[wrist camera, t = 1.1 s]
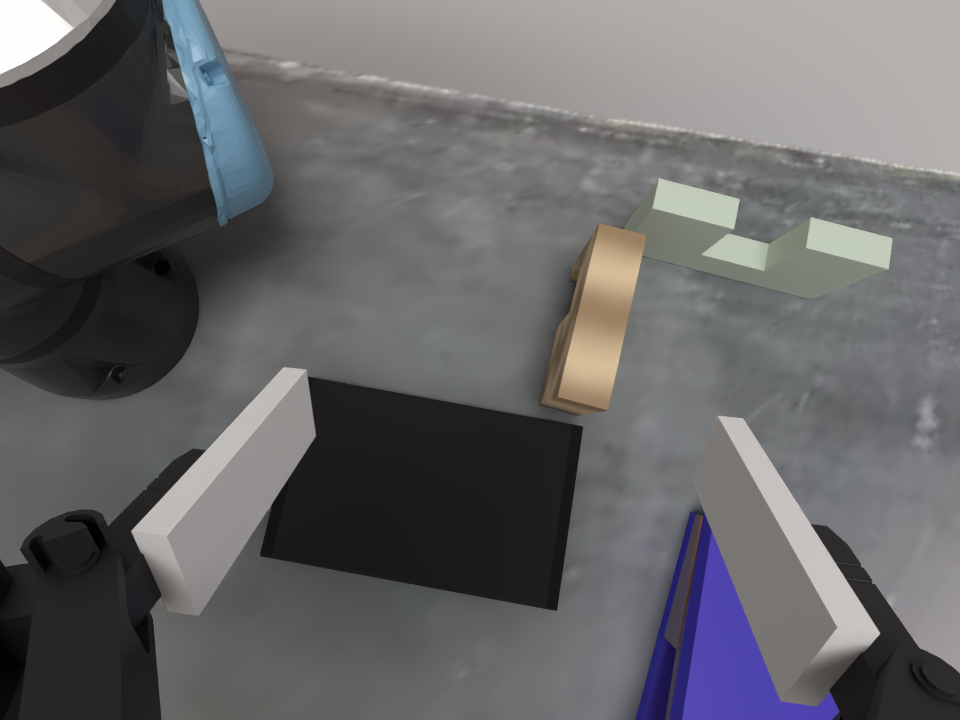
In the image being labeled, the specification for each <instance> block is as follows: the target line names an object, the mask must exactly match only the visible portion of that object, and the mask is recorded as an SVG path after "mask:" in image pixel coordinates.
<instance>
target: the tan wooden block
mask: <svg viewBox="0 0 960 720" xmlns="http://www.w3.org/2000/svg"><path fill="white" fill-rule="evenodd" d="M646 236H647V235H644V234H640V233H636V232H632V231H628V230H624V229H621V228H617V227H613V226H609V225H605V224H601V223H599V225H598V226H597V228H596V230H595V231H594V233H593V234H592V236H591V238H590V239H589V241H588V243H587V244H586V246H585V248H584V249H583V251H582V252H581V254H580V256H579V257H578V259H577V261H576V262H575V264H574V266H573V267H572V271H571V275H570V279H569V280H572V281H576V282H577V284H576V288H575V292H574V296H573V300H572V305H571V309H570V312H569V313H568V315H567V316H566V317H565V318H564V320H563V321H562V322H561V323H560V324H559V326H558V328H557V332H556V336H555V340H554V344H553V348H552V353H551V357H550V361H549V365H548V369H547V373H546V377H545V381H544V385H543V389H542V393H541V397H540V401H539V405H541V406H544V407H548V408H552V409H555V410H559V411H563V412H567V413H570V414H574V415H583V414H589V413H595V412H601V411H607V410H608V407H609V403H610V398H611V394H612V389H613V385H614V380H615V376H616V371H617V367H618V362H619V358H620V353H621V349H622V344H623V340H624V335H625V331H626V326H627V322H628V317H629V313H630V308H631V304H632V299H633V295H634V290H635V286H636V281H637V277H638V272H639V268H640V263H641V259H642V254H643V250H644V245H645V241H646Z"/></svg>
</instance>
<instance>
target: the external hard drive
mask: <svg viewBox="0 0 960 720" xmlns="http://www.w3.org/2000/svg"><path fill="white" fill-rule="evenodd" d="M308 384H309V391H310V397H311V404H312V411H313V418H314V425H315V432H316V437H315V438H314V440H313V441H312V443H311V444H310V446H309V447H308V449H307V451H306V452H305V454H304V455H303V457H302V458H301V460H300V461H299V463H298V464H297V466H296V467H295V469H294V471H293V472H292V474H291V475H290V477H289V478H288V480H287V481H286V483H285V484H284V486H283V488H282V489H281V491H280V492H279V494H278V495H277V497H276V498H275V500H274V501H273V504H272V508H271V512H270V516H269V520H268V524H267V529H266V533H265V537H264V541H263V545H262V549H261V553H260V556H262V557H268V558H273V559H279V560H284V561H289V562H295V563H300V564H306V565H311V566H316V567H322V568H327V569H333V570H338V571H344V572H349V573H354V574H360V575H365V576H371V577H376V578H381V579H387V580H392V581H398V582H403V583H408V584H414V585H419V586H425V587H430V588H435V589H441V590H446V591H452V592H457V593H462V594H468V595H473V596H479V597H484V598H490V599H495V600H500V601H506V602H511V603H517V604H522V605H527V606H533V607H538V608H544V609H549V610H554V611H557V607H558V600H559V593H560V585H561V578H562V571H563V564H564V557H565V550H566V543H567V536H568V529H569V522H570V515H571V508H572V501H573V494H574V487H575V480H576V473H577V466H578V459H579V452H580V445H581V438H582V431H583V427H582V426H577V425H572V424H566V423H560V422H555V421H549V420H544V419H538V418H533V417H527V416H522V415H516V414H511V413H505V412H500V411H494V410H489V409H483V408H478V407H472V406H467V405H461V404H456V403H450V402H445V401H439V400H434V399H428V398H423V397H417V396H412V395H406V394H401V393H395V392H390V391H384V390H379V389H373V388H368V387H362V386H357V385H351V384H346V383H340V382H334V381H329V380H323V379H318V378H312V377H308Z"/></svg>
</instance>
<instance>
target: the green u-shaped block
mask: <svg viewBox="0 0 960 720" xmlns="http://www.w3.org/2000/svg"><path fill="white" fill-rule="evenodd" d="M739 200H740V199H737V198H733V197H729V196H725V195H722V194H718V193H714V192H710V191H706V190H702V189H698V188H694V187H690V186H686V185H683V184H679V183H675V182H671V181H667V180H663V179H658V181H657V182H656V183H655V185H654V186H653V187H652V189H651V190H650V191H649V193H648V194H647V195H646V197H645V198H644V200H643V201H642V202H641V204H640V205H639V206H638V208H637V209H636V210H635V212H634V213H633V214H632V216H631V217H630V219H629V220H628V221H627V223H626V224H625V226H624V230H628V231H632V232H636V233H640V234H644V235H647V236H646V241H645V245H644V250H643V254H642V256H645V257H648V258H652V259H656V260H660V261H664V262H668V263H672V264H675V265H679V266H683V267H687V268H691V269H695V270H698V271H702V272H706V273H710V274H714V275H718V276H721V277H725V278H729V279H733V280H737V281H741V282H745V283H748V284H752V285H756V286H760V287H764V288H768V289H771V290H775V291H779V292H783V293H787V294H791V295H794V296H798V297H802V298H806V299H810V300H811V299H814V298H817V297H819V296H822V295H824V294H827V293H829V292H832V291H834V290H837V289H839V288H842V287H844V286H847V285H850V284H852V283H855V282H857V281H860V280H862V279H865V278H867V277H870V276H872V275H875V274H878V273H880V272H883V271H885V270H888V269H889V263H890V255H891V247H892V240H893V238H889V237H885V236H881V235H878V234H874V233H870V232H866V231H862V230H858V229H854V228H850V227H846V226H842V225H839V224H835V223H831V222H827V221H823V220H819V219H815V218H809V219H808V220H806V221H805V222H803V223H801V224H800V225H798V226H797V227H795V228H794V229H792V230H790V231H789V232H787V233H786V234H784V235H783V236H781V237H779V238H778V239H776V240H775V241H773V242H772V243H770V244H767V243H763V242H759V241H755V240H751V239H747V238H743V237H739V236H736V235H732V234H728V233H730V232H731V231H732V230H734V226H735V221H736V215H737V210H738V205H739Z"/></svg>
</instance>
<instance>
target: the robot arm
mask: <svg viewBox="0 0 960 720" xmlns="http://www.w3.org/2000/svg"><path fill="white" fill-rule="evenodd" d="M273 186H274V174H273V170H272V167H271V164H270V161H269V158H268V156H267V153H266V151H265V148H264V146H263V143H262V141H261V138H260V136H259V133H258V131H257V129H256V126H255V124H254V122H253V119H252V117H251V114H250V112H249V110H248V107H247V105H246V103H245V101H244V98H243V96H242V94H241V91H240V89H239V87H238V85H237V82H236V80H235V78H234V76H233V73H232V71H231V69H230V67H229V64H228V62H227V60H226V58H225V55H224V53H223V51H222V49H221V47H220V44H219V42H218V40H217V38H216V36H215V34H214V31H213V29H212V27H211V25H210V23H209V20H208V19H207V16H206V14H205V12H204V10H203V8H202V6H201V4H200V2H199V0H0V368H2V369H4V370H6V371H8V372H10V373H11V374H13V375H15V376H17V377H19V378H21V379H23V380H25V381H27V382H29V383H31V384H33V385H35V386H37V387H38V388H40V389H43V390H45V391H48V392H51V393H54V394H57V395H61V396H66V397H73V398H84V399H96V400H103V399H113V398H119V397H124V396H127V395H130V394H133V393H136V392H138V391H140V390H143V389H144V388H146V387H148V386H150V385H152V384H153V383H155V382H156V381H158V380H159V379H160V378H162V377H163V376H164V375H165V374H166V373H167V372H168V371H170V370H171V369H172V367H173V366H174V365H175V364H176V363H177V362H178V360H179V359H180V358H181V356H182V355H183V354H184V352H185V350H186V349H187V347H188V345H189V343H190V341H191V338H192V336H193V333H194V330H195V326H196V322H197V316H198V297H197V290H196V286H195V283H194V280H193V277H192V275H191V273H190V271H189V269H188V268H187V266H186V264H185V263H184V262H183V260H182V259H181V258H180V257H179V256H178V255H177V254H176V253H175V252H174V251H173V250H172V249H170V248H169V247H168V246H170V245H172V244H175V243H177V242H180V241H182V240H185V239H187V238H190V237H192V236H195V235H197V234H199V233H202V232H204V231H207V230H209V229H212V228H214V227H217V226H220V227H221V226H224V225H225V224H227V223H228V220H229V219H231V218H233V217H235V216H237V215H239V214H241V213H243V212H245V211H247V210H249V209H251V208H253V207H255V206H257V205H259V204H261V203H263V202H264V200H266V199H267V198H268V196H269V195H270V193H271V191H272V188H273ZM315 437H316V432H315V425H314V418H313V411H312V404H311V397H310V391H309V384H308V377H307V370H304V369H295V368H286V367H284V368H283V369H282V370H281V371H280V372H279V373H278V374H277V375H276V376H275V377H274V378H273V379H272V380H271V382H270V383H269V384H268V385H267V386H266V387H265V388H264V389H263V390H262V391H261V392H260V393H259V394H258V395H257V397H256V398H255V399H254V400H253V401H252V402H251V403H250V404H249V405H248V406H247V407H246V408H245V409H244V411H243V412H242V413H241V414H240V415H239V416H238V417H237V418H236V419H235V420H234V421H233V422H232V423H231V424H230V426H229V427H228V428H227V429H226V430H225V431H224V432H223V433H222V434H221V435H220V436H219V437H218V438H217V440H216V441H215V442H214V443H213V444H212V445H211V446H210V447H209V448H208V449H207V450H199V449H192V450H190V451H189V452H187V453H185V454H184V455H182V456H180V457H179V458H177V459H175V460H174V461H173V462H172V463H171V464H170V465H169V466H168V467H167V468H166V469H165V470H164V471H163V472H162V473H161V474H160V475H159V478H156V479H155V480H154V481H153V482H152V483H151V484H150V485H149V486H148V487H147V490H144V491H143V492H142V493H141V494H140V495H139V496H138V497H137V498H136V499H135V500H134V501H133V502H132V503H131V504H130V505H129V506H128V507H127V508H126V509H125V510H124V511H123V512H122V513H121V514H120V515H119V516H118V517H117V518H116V519H115V520H114V521H113V522H112V523H111V524H110V525H109V526H107V523H106V521H105V519H104V517H103V515H102V514H101V513H99V512H97V511H95V510H77V511H72V512H67V513H64V514H62V515H59V516H57V517H55V518H52V519H50V520H48V521H47V522H45V523H44V524H42V525H40V526H39V527H37V528H36V529H35V530H34V531H33V532H32V533H31V534H30V535H29V536H28V537H27V538H26V539H25V540H24V542H23V544H22V546H21V549H20V551H21V552H22V554H23V555H24V557H25V558H26V560H27V561H28V564H21V565H14V566H7V567H5V566H4V565H3V563H2V562H1V560H0V720H161V710H160V698H159V686H158V674H157V662H156V650H155V638H154V626H153V618H152V616H151V614H150V610H151V609H152V607H153V606H154V605H155V603H156V602H157V601H158V599H159V598H160V597H161V598H162V600H163V602H164V604H165V607H166V609H167V611H168V612H175V613H181V614H188V615H195V616H199V615H200V614H201V612H202V611H203V609H204V608H205V606H206V605H207V603H208V602H209V600H210V598H211V597H212V595H213V594H214V592H215V591H216V589H217V588H218V586H219V585H220V583H221V582H222V580H223V578H224V577H225V575H226V574H227V572H228V571H229V569H230V568H231V566H232V565H233V563H234V561H235V560H236V558H237V557H238V555H239V554H240V552H241V551H242V549H243V548H244V546H245V545H246V543H247V541H248V540H249V538H250V537H251V535H252V534H253V532H254V531H255V529H256V528H257V526H258V525H259V523H260V521H261V520H262V518H263V517H264V515H265V514H266V512H267V511H268V509H269V508H270V506H271V504H272V503H273V501H274V500H275V498H276V497H277V495H278V494H279V492H280V491H281V489H282V488H283V486H284V484H285V483H286V481H287V480H288V478H289V477H290V475H291V474H292V472H293V471H294V469H295V467H296V466H297V464H298V463H299V461H300V460H301V458H302V457H303V455H304V454H305V452H306V451H307V449H308V447H309V446H310V444H311V443H312V441H313V440H314V438H315ZM692 483H693V485H694V488H695V490H696V493H697V495H698V498H699V500H700V503H701V505H702V508H703V510H704V513H705V515H706V518H707V520H708V523H709V525H710V528H711V530H712V533H713V535H714V538H715V540H716V542H717V545H718V547H719V550H720V552H721V555H722V557H723V560H724V562H725V565H726V567H727V570H728V572H729V575H730V577H731V580H732V582H733V585H734V587H735V590H736V592H737V595H738V597H739V600H740V602H741V605H742V607H743V610H744V612H745V615H746V617H747V619H748V622H749V624H750V627H751V629H752V632H753V634H754V637H755V639H756V642H757V644H758V647H759V649H760V652H761V654H762V657H763V659H764V662H765V664H766V667H767V669H768V672H769V674H770V677H771V679H772V682H773V684H774V687H775V689H776V691H777V694H778V696H779V699H780V701H782V702H788V703H795V704H802V705H809V706H816V707H817V706H818V705H819V704H820V703H821V702H822V701H823V699H824V698H825V697H826V696H827V695H828V694H829V692H830V693H831V695H832V697H833V699H834V701H835V703H836V705H837V707H838V709H839V713H838V714H837V715H836V716H835V717H834V718H833V719H832V720H960V673H959V672H958V671H957V670H956V669H954V668H953V667H952V666H950V665H949V664H947V663H946V662H945V661H943V660H942V659H941V658H939V657H937V656H935V655H933V654H931V653H929V652H927V651H925V650H923V649H920V648H919V647H918V646H917V644H916V643H915V641H914V640H913V638H912V637H911V636H910V634H909V633H908V631H907V630H906V628H905V627H904V625H903V624H902V623H901V621H900V620H899V618H898V617H897V615H896V614H895V612H894V611H893V610H892V608H891V607H890V605H889V604H888V602H887V601H886V599H885V598H884V597H883V595H882V594H881V592H880V591H879V589H878V588H877V586H876V585H875V584H872V579H871V578H870V576H869V575H868V573H867V572H866V571H865V569H864V568H861V563H860V562H859V560H858V559H857V558H856V556H855V555H854V553H853V552H852V550H851V549H850V548H849V546H848V545H847V544H846V543H845V542H844V541H843V540H842V539H841V538H840V537H839V536H837V535H836V534H835V533H834V532H833V531H832V530H831V529H830V528H828V527H827V526H821V525H813V524H810V523H809V521H808V519H807V518H806V516H805V515H804V513H803V512H802V510H801V508H800V507H799V505H798V504H797V502H796V501H795V499H794V498H793V496H792V494H791V493H790V491H789V490H788V488H787V487H786V485H785V483H784V482H783V480H782V479H781V477H780V476H779V474H778V472H777V471H776V469H775V468H774V466H773V465H772V463H771V462H770V460H769V458H768V457H767V455H766V454H765V452H764V451H763V449H762V447H761V446H760V444H759V443H758V441H757V440H756V438H755V437H754V435H753V433H752V432H751V430H750V429H749V427H748V426H747V424H746V422H745V421H744V419H743V418H734V417H725V416H717V419H716V421H715V424H714V426H713V429H712V431H711V434H710V436H709V439H708V441H707V444H706V446H705V449H704V451H703V454H702V457H701V459H700V462H699V464H698V467H697V469H696V472H695V474H694V477H693V479H692Z"/></svg>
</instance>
